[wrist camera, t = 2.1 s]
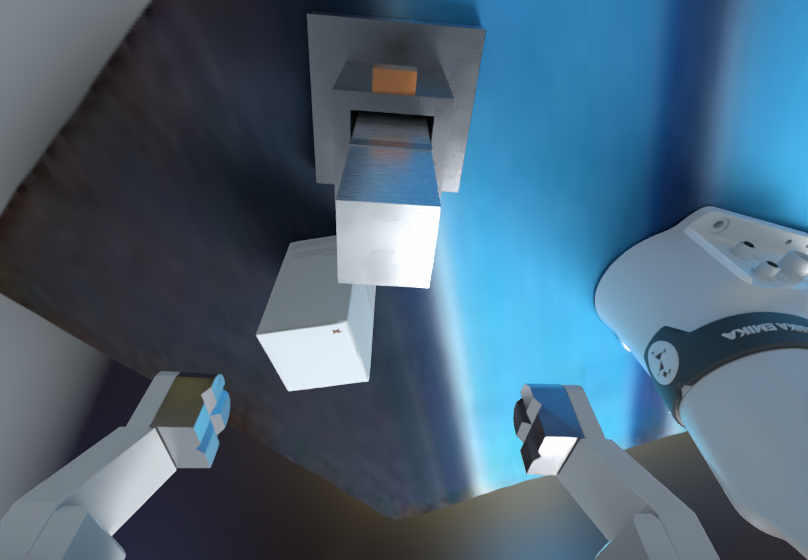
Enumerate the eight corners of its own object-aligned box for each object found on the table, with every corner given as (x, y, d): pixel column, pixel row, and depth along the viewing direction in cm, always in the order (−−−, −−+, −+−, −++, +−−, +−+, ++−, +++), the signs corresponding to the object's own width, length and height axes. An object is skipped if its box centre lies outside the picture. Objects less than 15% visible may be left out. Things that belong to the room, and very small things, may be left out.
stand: (481, 25, 29) (511, 50, 22) (455, 182, 37) (471, 243, 29) (311, 10, 29) (278, 30, 21) (320, 173, 36) (297, 233, 28)
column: (422, 88, 30) (442, 205, 16) (416, 144, 32) (429, 288, 18) (365, 83, 30) (334, 198, 15) (364, 140, 32) (336, 283, 18)
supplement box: (288, 240, 40) (251, 332, 30) (361, 229, 40) (349, 320, 30) (310, 297, 45) (285, 393, 35) (377, 288, 44) (371, 383, 34)
